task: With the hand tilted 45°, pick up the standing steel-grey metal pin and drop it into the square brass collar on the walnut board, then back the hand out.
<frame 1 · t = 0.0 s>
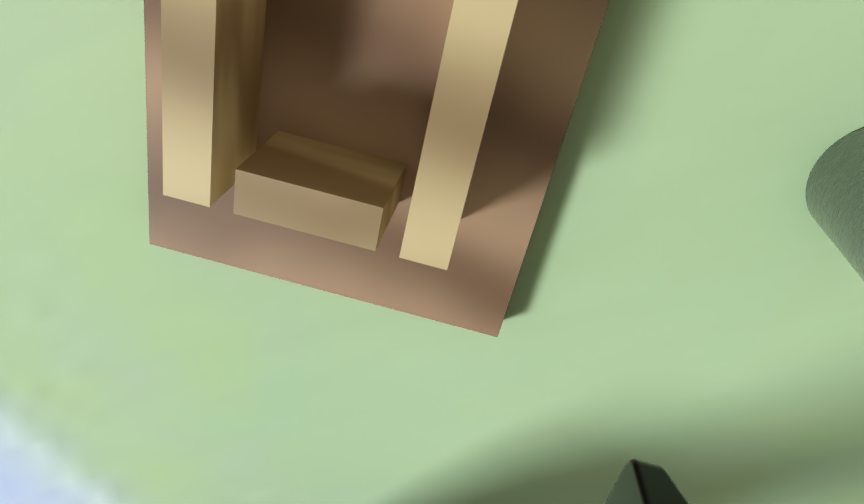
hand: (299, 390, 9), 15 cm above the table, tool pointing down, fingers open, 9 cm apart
socket board: (363, 52, 21), on the table
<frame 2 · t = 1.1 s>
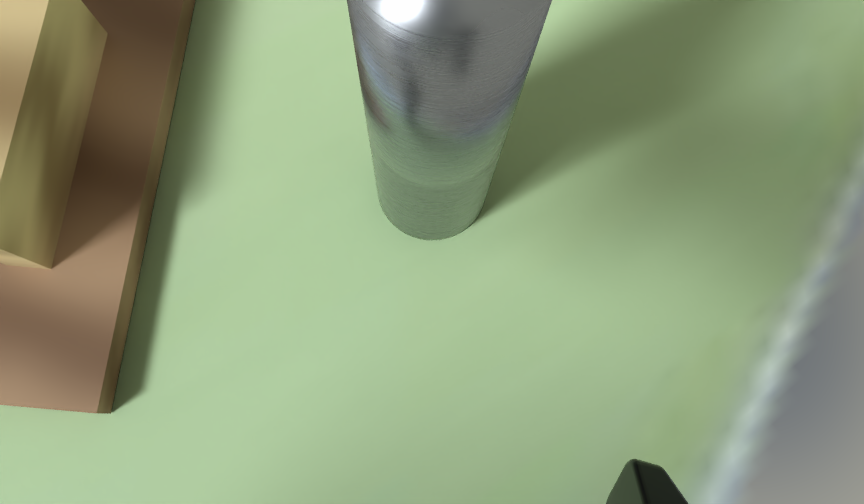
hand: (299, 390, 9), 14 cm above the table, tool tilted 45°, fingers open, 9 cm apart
metal pin: (431, 188, 24), on the table
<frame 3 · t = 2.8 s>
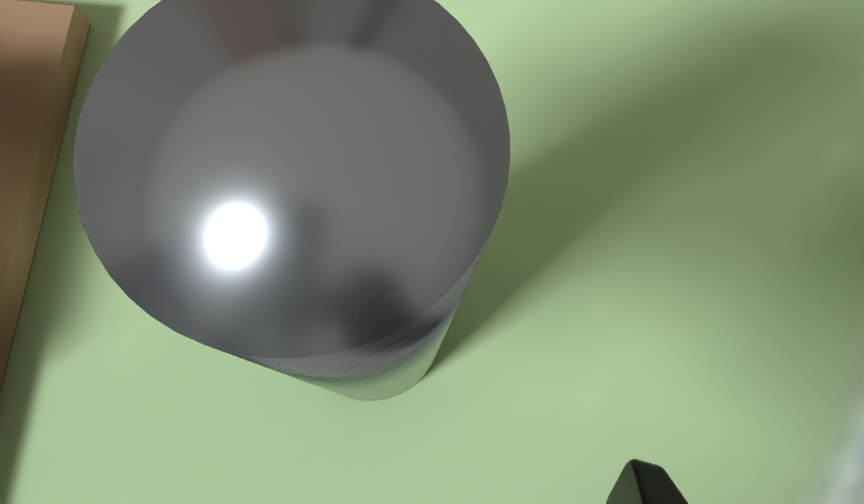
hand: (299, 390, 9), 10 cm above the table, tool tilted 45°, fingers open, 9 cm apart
metal pin: (371, 329, 19), on the table
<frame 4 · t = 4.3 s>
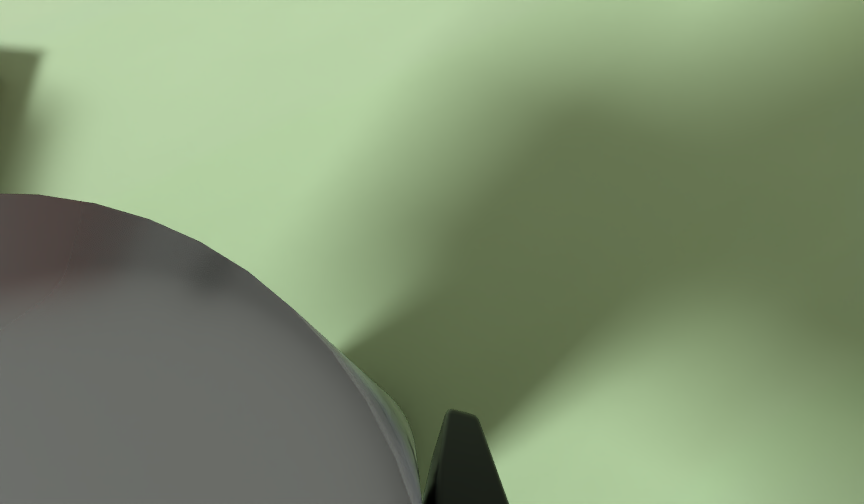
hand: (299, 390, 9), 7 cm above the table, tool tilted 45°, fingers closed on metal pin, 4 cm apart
metal pin: (330, 460, 15), on the table, touching gripper
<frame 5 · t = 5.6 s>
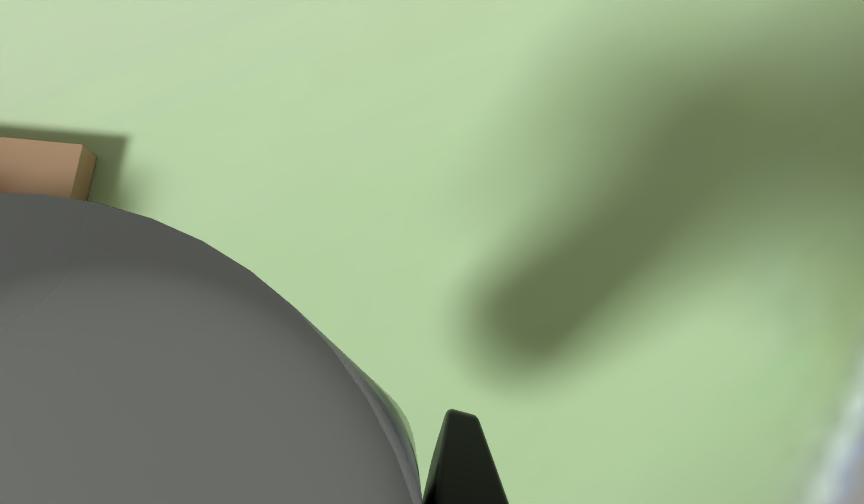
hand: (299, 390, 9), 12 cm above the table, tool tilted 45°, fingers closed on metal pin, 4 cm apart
metal pin: (330, 460, 15), point 5 cm above the table, touching gripper
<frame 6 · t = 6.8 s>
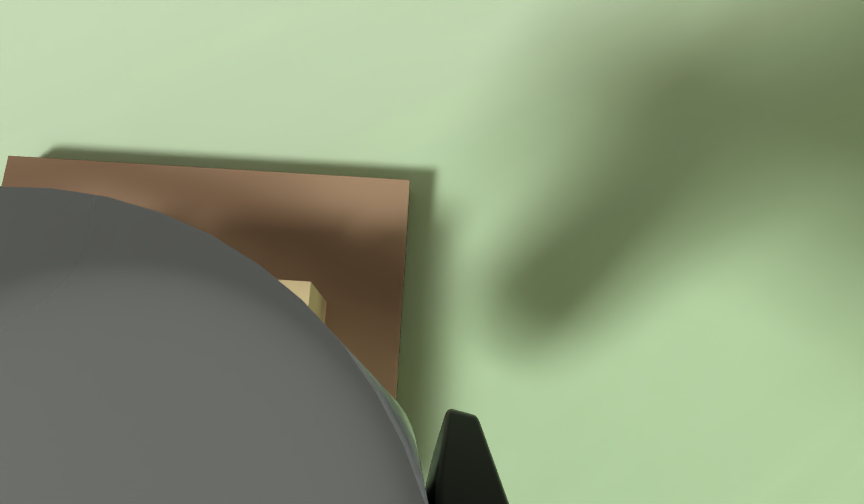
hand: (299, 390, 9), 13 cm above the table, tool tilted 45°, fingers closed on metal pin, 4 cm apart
socket board: (182, 433, 21), on the table
metal pin: (332, 459, 15), point 7 cm above the table, touching gripper
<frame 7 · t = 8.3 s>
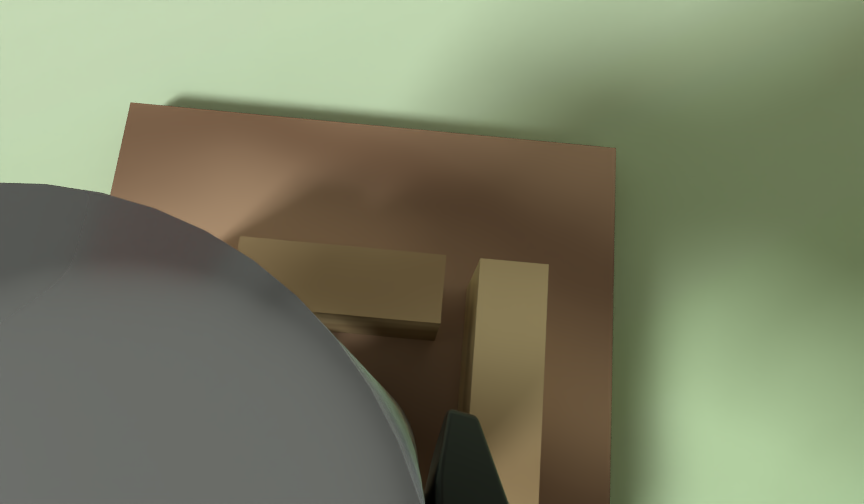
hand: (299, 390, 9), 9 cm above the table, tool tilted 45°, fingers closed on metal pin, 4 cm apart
socket board: (340, 449, 17), on the table
metal pin: (331, 458, 15), point 2 cm above the table, touching gripper
when the fingers open (9 cm above the table, at t = 9.0 s): metal pin drops 1 cm, resting on socket board.
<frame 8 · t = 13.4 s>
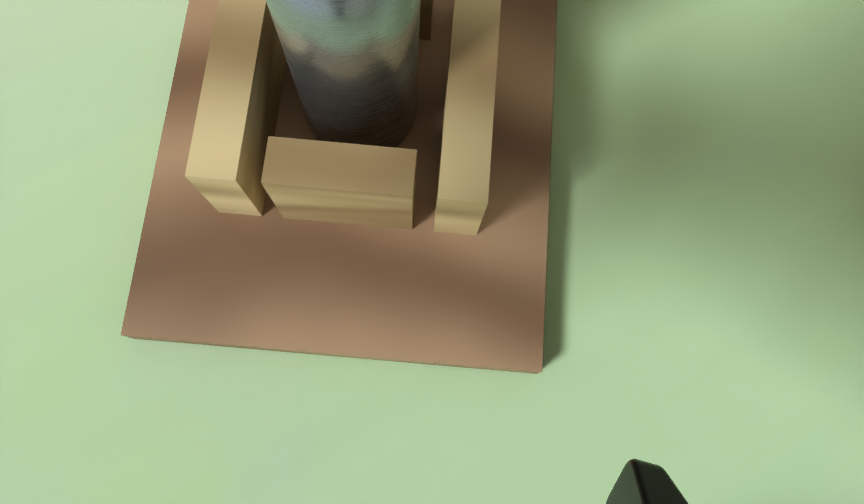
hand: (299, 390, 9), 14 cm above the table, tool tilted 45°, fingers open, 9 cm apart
socket board: (364, 118, 24), on the table
metal pin: (361, 107, 23), point 1 cm above the table, touching socket board
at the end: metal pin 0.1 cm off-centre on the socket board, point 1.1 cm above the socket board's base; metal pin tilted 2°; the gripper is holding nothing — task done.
